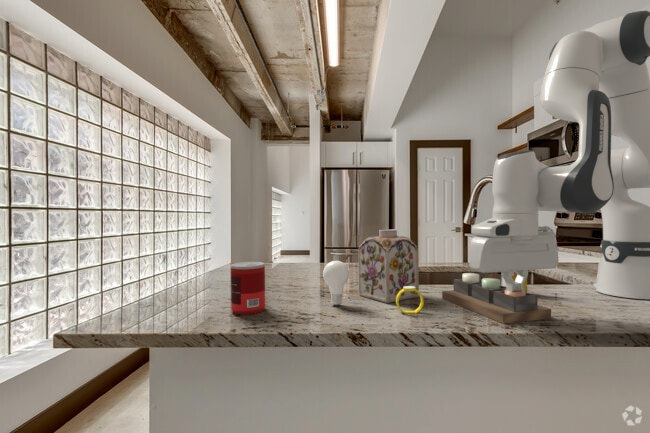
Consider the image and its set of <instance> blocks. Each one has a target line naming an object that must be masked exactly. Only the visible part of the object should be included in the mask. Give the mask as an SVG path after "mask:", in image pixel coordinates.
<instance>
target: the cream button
mask: <svg viewBox="0 0 650 433" xmlns="http://www.w3.org/2000/svg"><path fill="white" fill-rule="evenodd" d="M461 275H462V278H461V279H462V281H463V282H467V283H477V282H479V280H480V274H479V273H474V272H464V273H461Z"/></svg>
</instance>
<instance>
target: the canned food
mask: <svg viewBox="0 0 650 433" xmlns="http://www.w3.org/2000/svg"><path fill="white" fill-rule="evenodd" d="M265 266H266V265H265V263H264V262H262V261H241V262H234V263H232V264H231V265H230V297H231V298H230V300H231V302H230V303H231V306H230V307H231V311H232V313H234V314H235V315H242V316H244V315H245V316H248V315H254V314H259V313H262V312H264V310H265V309H266V308H265V307H266V269H265V268H266V267H265Z"/></svg>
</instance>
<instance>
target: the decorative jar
mask: <svg viewBox="0 0 650 433" xmlns="http://www.w3.org/2000/svg"><path fill="white" fill-rule="evenodd" d="M378 233H379V234H378V235H373V236H369V237H367V238H365V239H364V240H362V243H361V244H360V245H359V246H358V249H357V250H358V260H357V261H358V262H357V264H358V265H357V266H358V267H357V268H358V269H357V270H358V273H357V274H358V296H360V297H364V298H367V299H371V300H375V301H378V302H381V303H385V304H391V303H396V297H397V294H398V293H399V291H400V290H402V289H403V287H404V286H414V287H416V290H418V291H419V292H420V289H419V287H420V284H419V280H420V279H419V275H420V274H419V273H420V272H419V248H418V246H417V245H416V244H415V242H414V241H413V240H412V239H411V238H410V237H408V236H403V235H398V230H397V229H395V228H394V229H393V228H392V229H379V231H378ZM419 296H420V295H419V294H418V293H417V292H416V291H405V292H403V293H402V294H401V296H400V297H399V302H400V301H406V300H411V299H415V298H418V297H419Z"/></svg>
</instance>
